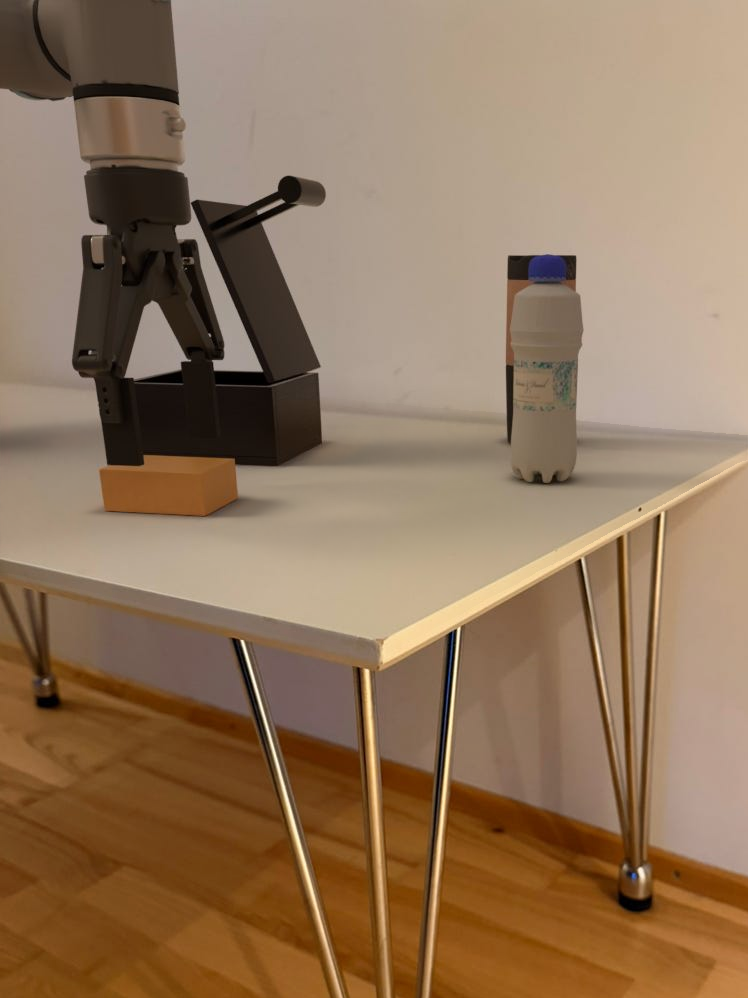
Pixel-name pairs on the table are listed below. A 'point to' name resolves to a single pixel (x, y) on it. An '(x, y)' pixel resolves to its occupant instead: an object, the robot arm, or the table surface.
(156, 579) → the table surface
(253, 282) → the maker lid
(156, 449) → the open dark storage box
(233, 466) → the orange rectangular block
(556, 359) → the bottle
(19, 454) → the table surface
